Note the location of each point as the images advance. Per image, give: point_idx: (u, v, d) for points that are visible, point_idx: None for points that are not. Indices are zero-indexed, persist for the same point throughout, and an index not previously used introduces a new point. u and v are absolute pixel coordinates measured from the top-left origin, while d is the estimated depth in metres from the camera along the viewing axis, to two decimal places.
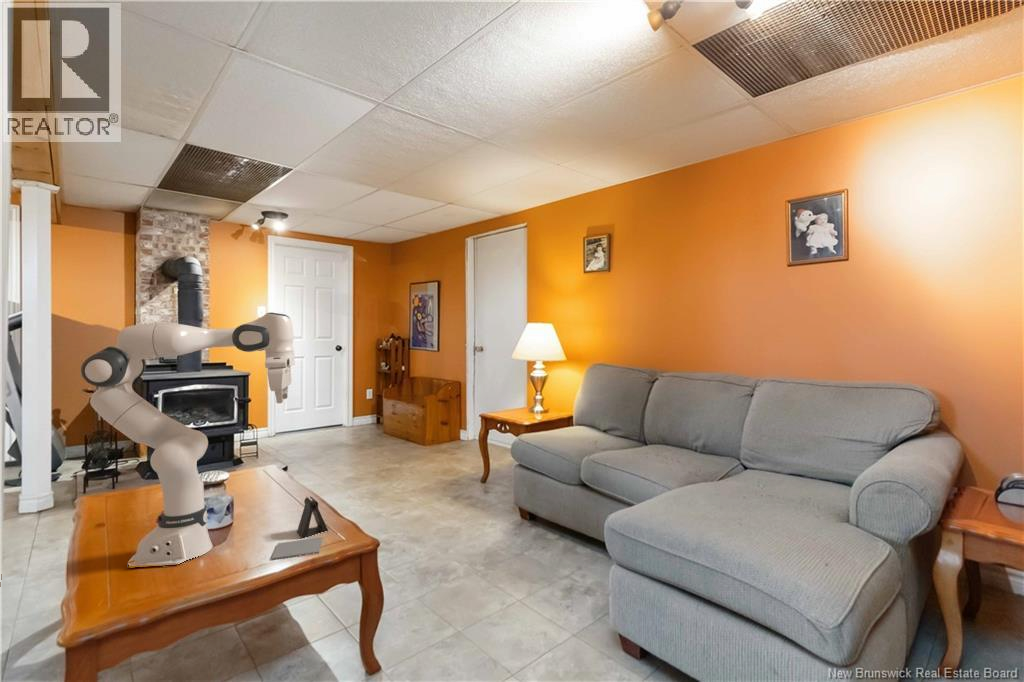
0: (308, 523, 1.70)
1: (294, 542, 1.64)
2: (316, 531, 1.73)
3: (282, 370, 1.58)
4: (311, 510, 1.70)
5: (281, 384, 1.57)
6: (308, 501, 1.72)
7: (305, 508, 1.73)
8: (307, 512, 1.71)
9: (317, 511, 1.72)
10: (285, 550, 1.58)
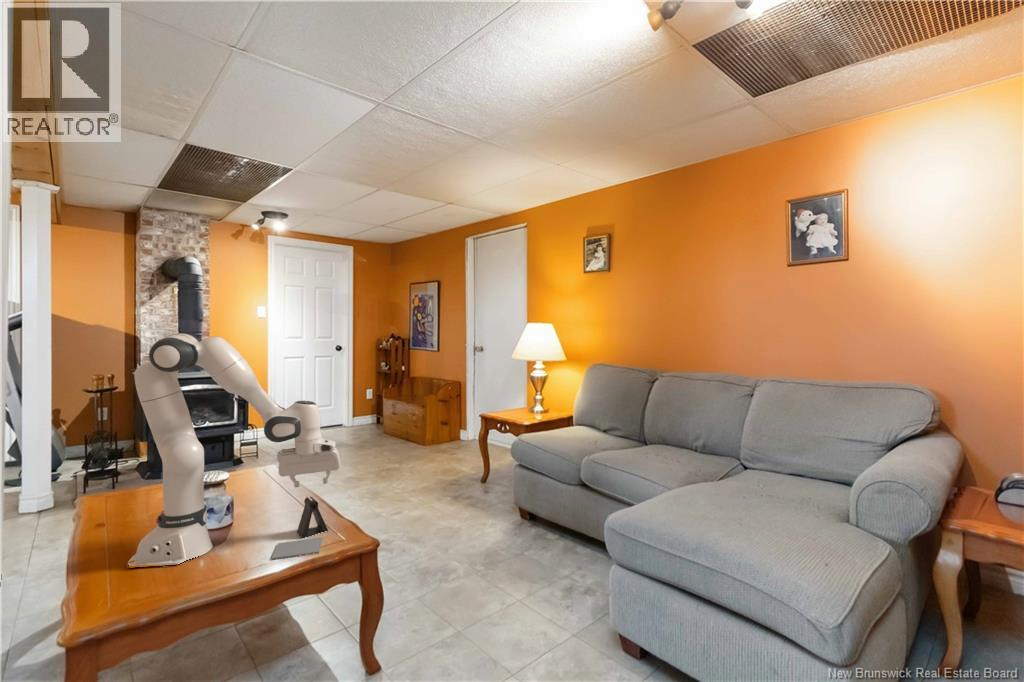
0: (308, 523, 1.70)
1: (294, 542, 1.64)
2: (316, 531, 1.73)
3: (336, 449, 1.77)
4: (311, 510, 1.70)
5: None
6: (308, 501, 1.72)
7: (305, 508, 1.73)
8: (307, 512, 1.71)
9: (317, 511, 1.72)
10: (285, 550, 1.58)
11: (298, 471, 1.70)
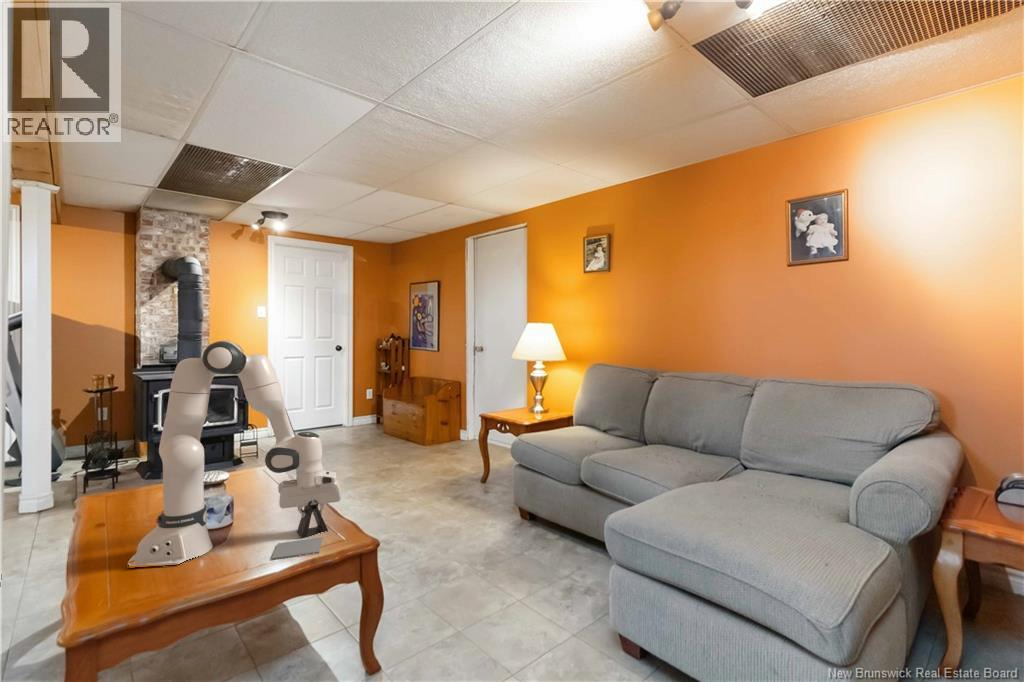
0: (308, 523, 1.70)
1: (294, 542, 1.64)
2: (316, 531, 1.73)
3: (337, 480, 1.77)
4: (311, 510, 1.70)
5: None
6: None
7: (305, 508, 1.73)
8: (307, 512, 1.71)
9: (317, 511, 1.71)
10: (285, 550, 1.58)
11: (299, 503, 1.70)
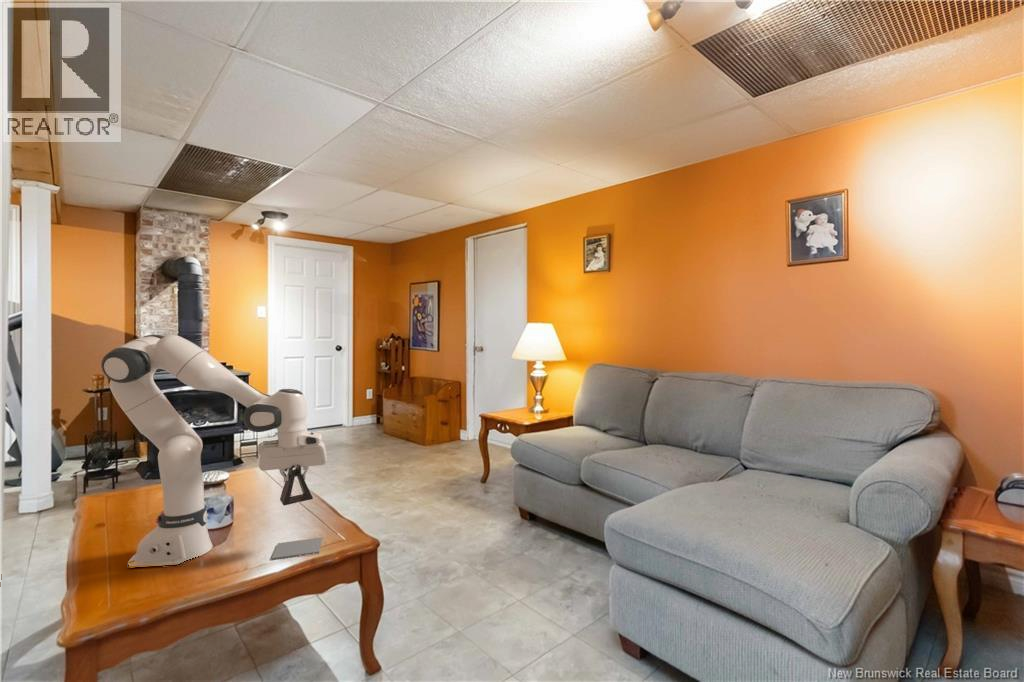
0: (290, 489, 1.56)
1: (294, 542, 1.64)
2: (300, 498, 1.60)
3: None
4: (293, 475, 1.57)
5: None
6: None
7: (288, 473, 1.60)
8: (289, 477, 1.58)
9: (300, 477, 1.58)
10: (285, 550, 1.58)
11: (280, 465, 1.57)
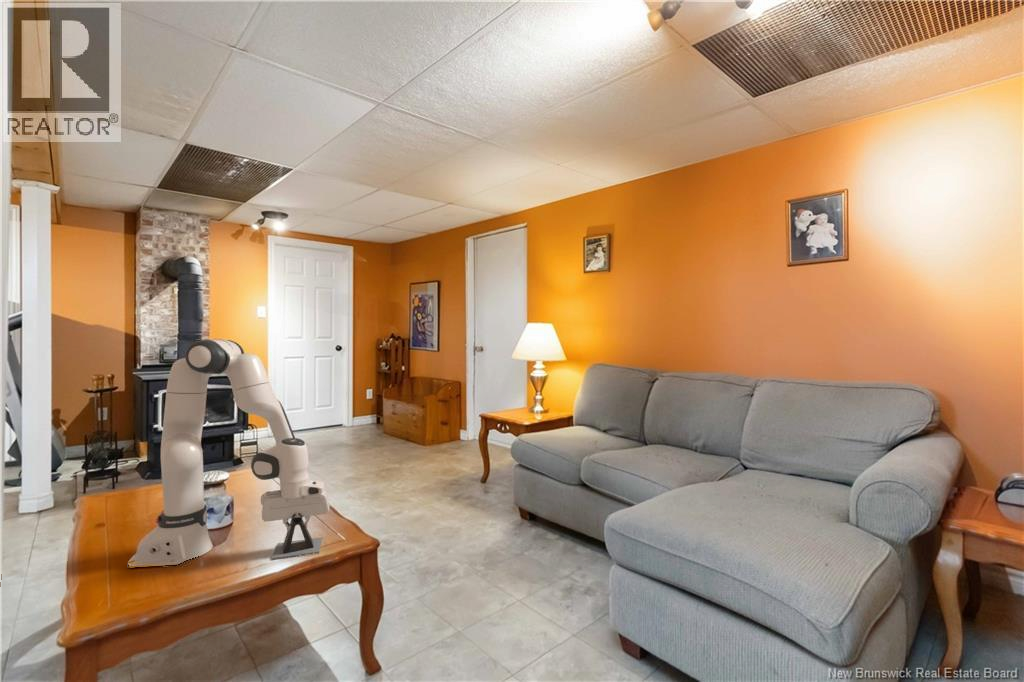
0: (290, 537, 1.57)
1: (294, 542, 1.64)
2: (301, 546, 1.60)
3: (325, 491, 1.64)
4: (294, 524, 1.57)
5: None
6: None
7: (291, 520, 1.61)
8: (291, 525, 1.58)
9: (301, 525, 1.58)
10: None
11: (283, 516, 1.57)
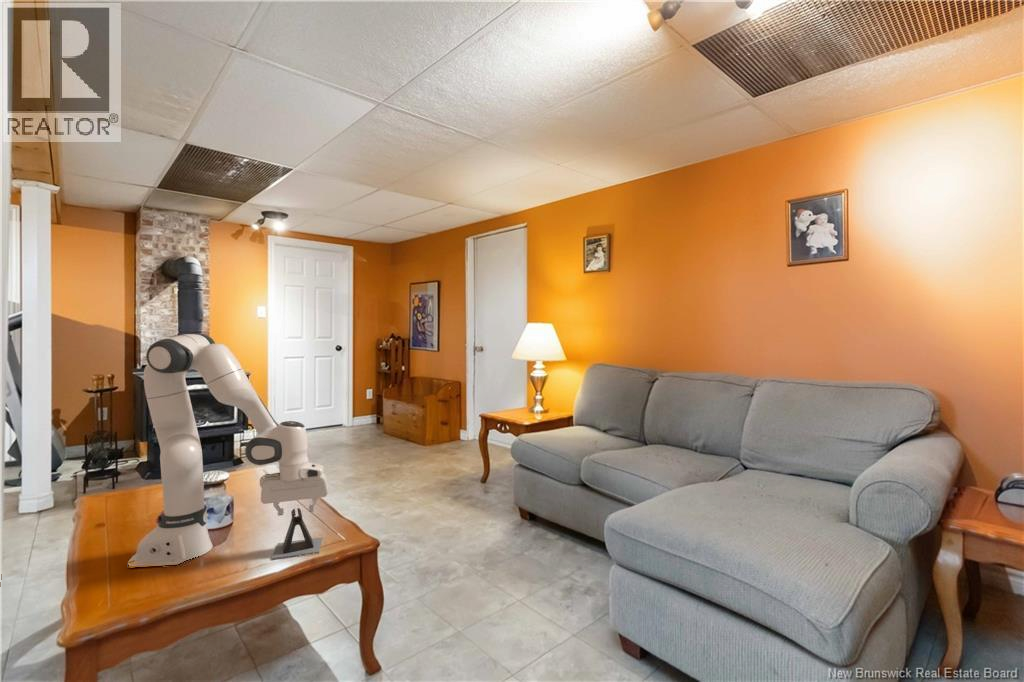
0: (290, 537, 1.57)
1: (294, 542, 1.64)
2: (301, 546, 1.60)
3: (324, 474, 1.64)
4: (294, 524, 1.57)
5: None
6: (293, 513, 1.59)
7: (291, 520, 1.61)
8: (291, 525, 1.58)
9: (301, 525, 1.58)
10: None
11: (282, 498, 1.57)
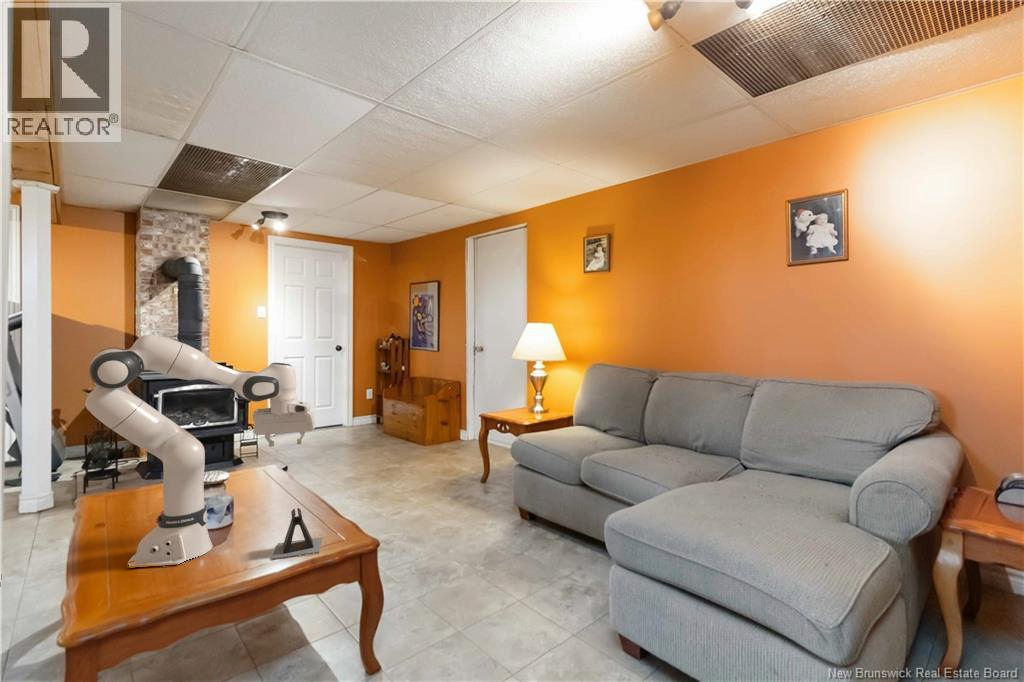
0: (290, 537, 1.57)
1: (294, 542, 1.64)
2: (301, 546, 1.60)
3: (311, 411, 1.81)
4: (294, 524, 1.57)
5: None
6: (293, 513, 1.59)
7: (291, 520, 1.61)
8: (291, 525, 1.58)
9: (301, 525, 1.58)
10: None
11: (272, 430, 1.74)
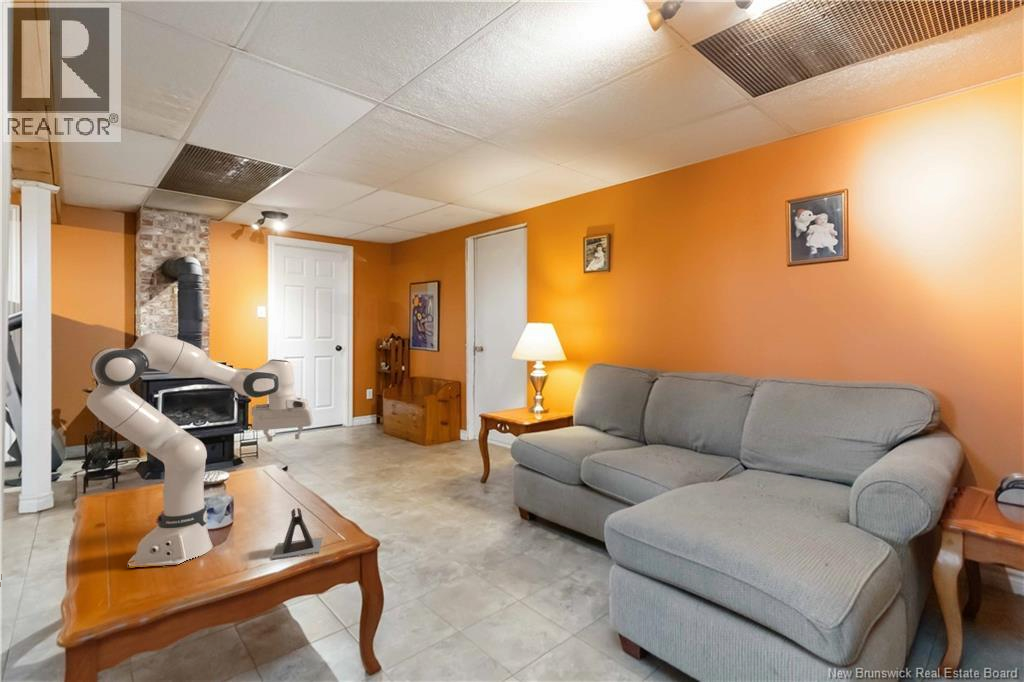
0: (290, 537, 1.57)
1: (294, 542, 1.64)
2: (301, 546, 1.60)
3: (309, 407, 1.85)
4: (294, 524, 1.57)
5: None
6: (293, 513, 1.59)
7: (291, 520, 1.61)
8: (291, 525, 1.58)
9: (301, 525, 1.58)
10: None
11: (271, 426, 1.78)
